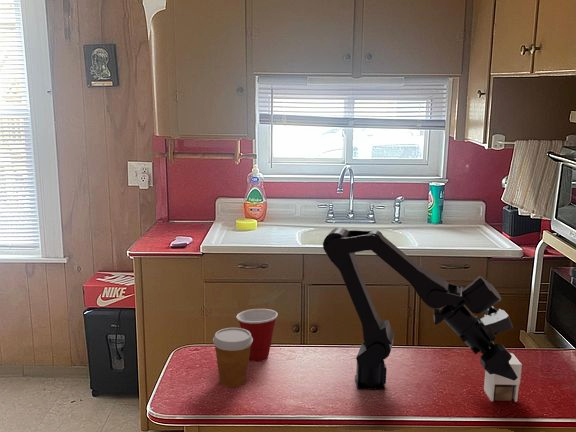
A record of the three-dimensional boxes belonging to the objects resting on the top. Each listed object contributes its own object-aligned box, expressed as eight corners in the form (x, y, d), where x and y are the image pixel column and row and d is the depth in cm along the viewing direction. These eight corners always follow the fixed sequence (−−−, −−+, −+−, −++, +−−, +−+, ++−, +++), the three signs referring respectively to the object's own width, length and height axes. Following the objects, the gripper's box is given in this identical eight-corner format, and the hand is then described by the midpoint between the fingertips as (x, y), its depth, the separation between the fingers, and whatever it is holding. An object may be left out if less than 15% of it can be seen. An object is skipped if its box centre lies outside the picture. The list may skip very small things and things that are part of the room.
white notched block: (491, 402, 142) (495, 363, 140) (483, 389, 148) (487, 352, 146) (517, 402, 142) (521, 364, 140) (508, 390, 148) (512, 353, 146)
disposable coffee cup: (204, 381, 150) (204, 334, 147) (234, 368, 157) (234, 323, 154) (231, 394, 144) (231, 346, 141) (260, 381, 150) (261, 334, 148)
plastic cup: (255, 344, 171) (255, 303, 169) (285, 355, 165) (286, 313, 162) (227, 357, 163) (227, 314, 161) (258, 369, 156) (258, 324, 154)
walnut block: (494, 400, 143) (496, 386, 143) (489, 392, 147) (491, 379, 146) (511, 401, 143) (512, 387, 143) (505, 393, 147) (507, 379, 146)
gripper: (505, 315, 131) (552, 365, 133) (479, 287, 149) (521, 331, 152) (465, 349, 133) (512, 398, 135) (444, 317, 151) (486, 360, 153)
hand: (508, 369), depth 144 cm, fingers open, 9 cm apart
